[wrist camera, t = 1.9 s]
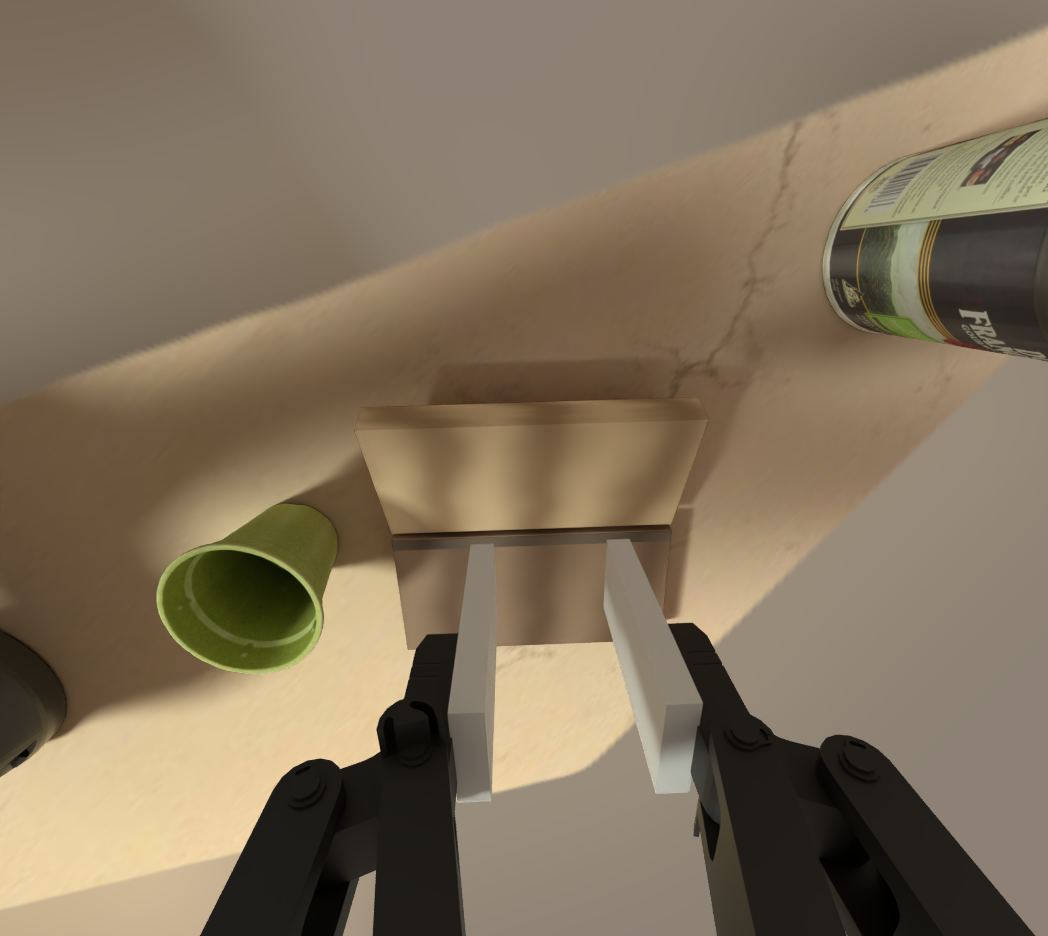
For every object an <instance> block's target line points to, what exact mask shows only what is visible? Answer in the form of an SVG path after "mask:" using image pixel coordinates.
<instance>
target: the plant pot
mask: <svg viewBox="0 0 1048 936" xmlns="http://www.w3.org/2000/svg"><path fill="white" fill-rule="evenodd" d="M337 551H338V541H337V533H336V531H335V528H334V527H333V525H332V524H331V522H330V521H329V520H328V519H327V518H326V517H325V516H324V515H323V514H321V513H320V512H319V511H317V510H315V509H313V508H311V507H309V506H306V505H293V504H285V503H284V504H278V505H275V506H273V507H271V508H269V509H267V510H266V511H264V512H263V513H261V514H260V515H259V516H257V517H256V518H254V519H253V520H251V521H250V522H248V523H247V524H245V525H244V526H242V527H241V528H239V529H238V530H236V531H235V532H233V533H232V534H230V535H229V536H227V537H226V538H224V539H223V540H221V541H217V542H214V543H212V544H207V545H203V546H199V547H197V548H194V549H192V550H189V551H187V552H186V553H184V554H182V555H181V556H179V557H178V558H177V559H176V560H174V561H173V562H172V563H171V564H170V565H169V566H168V567H167V568H166V570H165V571H164V573H163V574H162V576H161V579H160V581H159V584H158V589H157V595H156V597H157V608H158V612H159V615H160V617H161V620H162V622H163V624H164V625H165V626H166V628H167V630H168V631H169V633H170V635H171V636H172V637H173V638H174V640H175V641H176V642H177V643H178V644H179V645H180V646H182V647H183V648H184V649H185V650H186V651H188V652H190V653H191V654H192V655H193V656H195V657H196V658H198V659H200V660H201V661H204V662H206V663H209V664H211V665H213V666H215V667H217V668H220V669H224V670H227V671H232V672H238V673H244V674H265V673H271V672H277V671H280V670H283V669H286V668H289V667H291V666H293V665H295V664H296V663H298V662H300V661H301V660H302V659H304V658H305V657H306V656H307V655H308V654H309V653H310V652H311V651H312V650H313V648H314V647H315V645H316V644H317V642H318V640H319V638H320V635H321V632H322V628H323V623H324V613H323V607H322V598H323V594H324V591H325V588H326V585H327V582H328V579H329V575H330V572H331V570H332V567H333V564H334V561H335V558H336V554H337Z"/></svg>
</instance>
